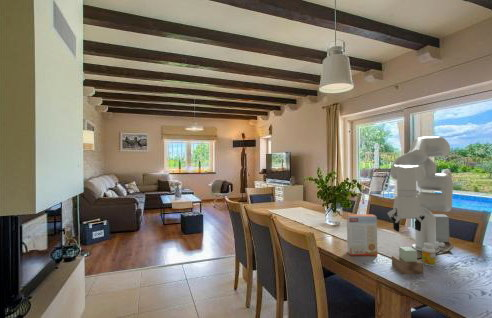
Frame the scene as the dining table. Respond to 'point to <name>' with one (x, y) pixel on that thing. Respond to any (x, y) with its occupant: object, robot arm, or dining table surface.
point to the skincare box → (442, 228)
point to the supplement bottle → (429, 254)
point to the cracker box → (362, 234)
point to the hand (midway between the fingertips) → (407, 230)
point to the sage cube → (408, 254)
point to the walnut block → (407, 266)
